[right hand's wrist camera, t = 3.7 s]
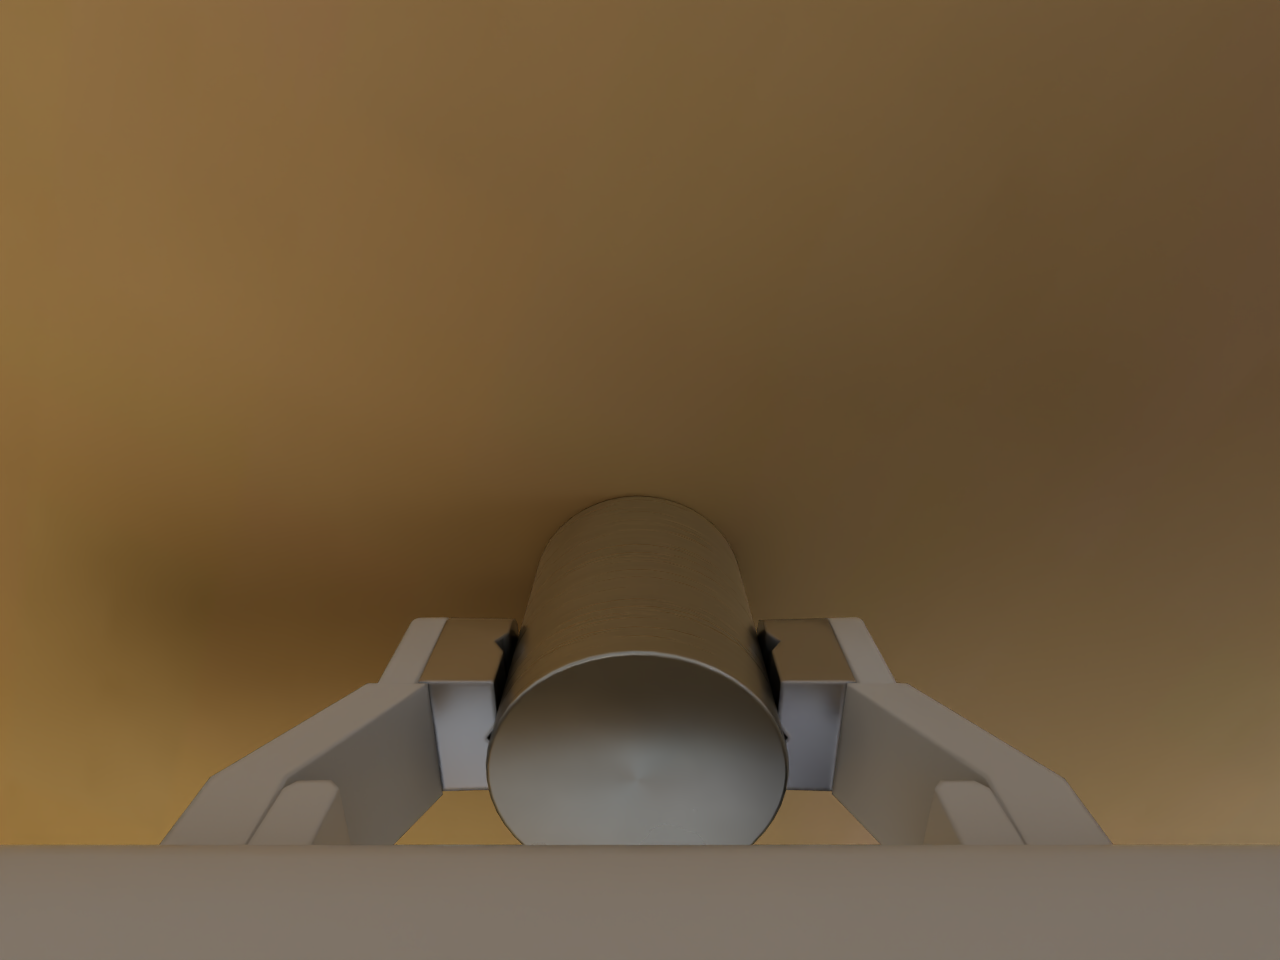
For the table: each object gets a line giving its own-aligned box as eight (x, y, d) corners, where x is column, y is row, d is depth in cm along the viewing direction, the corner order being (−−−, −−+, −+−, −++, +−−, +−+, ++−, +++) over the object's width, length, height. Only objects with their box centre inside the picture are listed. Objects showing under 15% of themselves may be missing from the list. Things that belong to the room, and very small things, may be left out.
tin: (742, 492, 12) (798, 648, 8) (737, 670, 13) (781, 884, 9) (527, 498, 12) (467, 656, 8) (544, 675, 13) (501, 890, 9)
